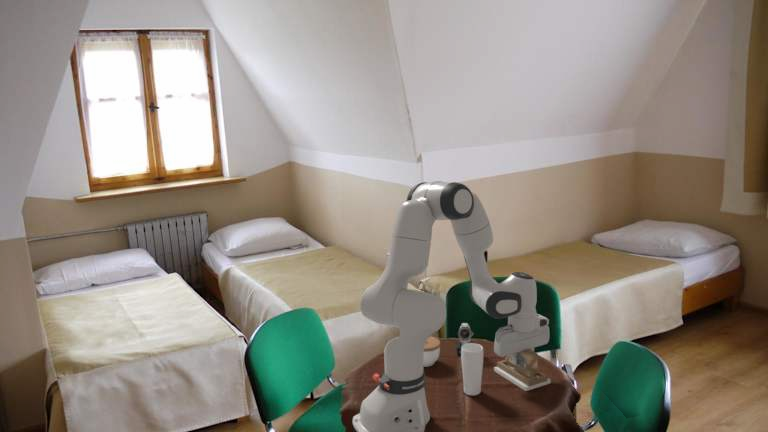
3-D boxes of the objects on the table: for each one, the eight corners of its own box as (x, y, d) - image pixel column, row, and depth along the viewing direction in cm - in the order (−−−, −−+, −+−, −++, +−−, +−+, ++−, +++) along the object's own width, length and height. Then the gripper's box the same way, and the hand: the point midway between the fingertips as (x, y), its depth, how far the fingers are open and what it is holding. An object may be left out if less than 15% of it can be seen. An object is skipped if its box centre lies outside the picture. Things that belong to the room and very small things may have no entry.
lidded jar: (405, 358, 214) (404, 333, 212) (434, 354, 217) (433, 329, 215) (415, 372, 204) (414, 346, 202) (445, 367, 207) (444, 341, 205)
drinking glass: (482, 398, 186) (482, 352, 182) (460, 396, 187) (460, 351, 184) (483, 387, 192) (483, 343, 189) (462, 386, 194) (461, 342, 190)
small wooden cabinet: (525, 391, 189) (526, 380, 188) (494, 370, 203) (494, 360, 202) (550, 383, 194) (550, 372, 193) (517, 363, 207) (517, 353, 207)
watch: (457, 358, 213) (457, 328, 211) (457, 348, 221) (456, 319, 219) (473, 358, 213) (473, 329, 210) (472, 348, 220) (472, 320, 218)
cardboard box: (528, 376, 192) (528, 356, 191) (506, 363, 202) (506, 343, 200) (537, 373, 194) (537, 353, 192) (514, 360, 204) (515, 341, 202)
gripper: (502, 332, 187) (502, 373, 190) (553, 318, 196) (552, 358, 199) (489, 325, 192) (489, 365, 196) (539, 312, 202) (538, 351, 205)
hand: (521, 362), depth 197 cm, fingers closed on cardboard box, 4 cm apart
